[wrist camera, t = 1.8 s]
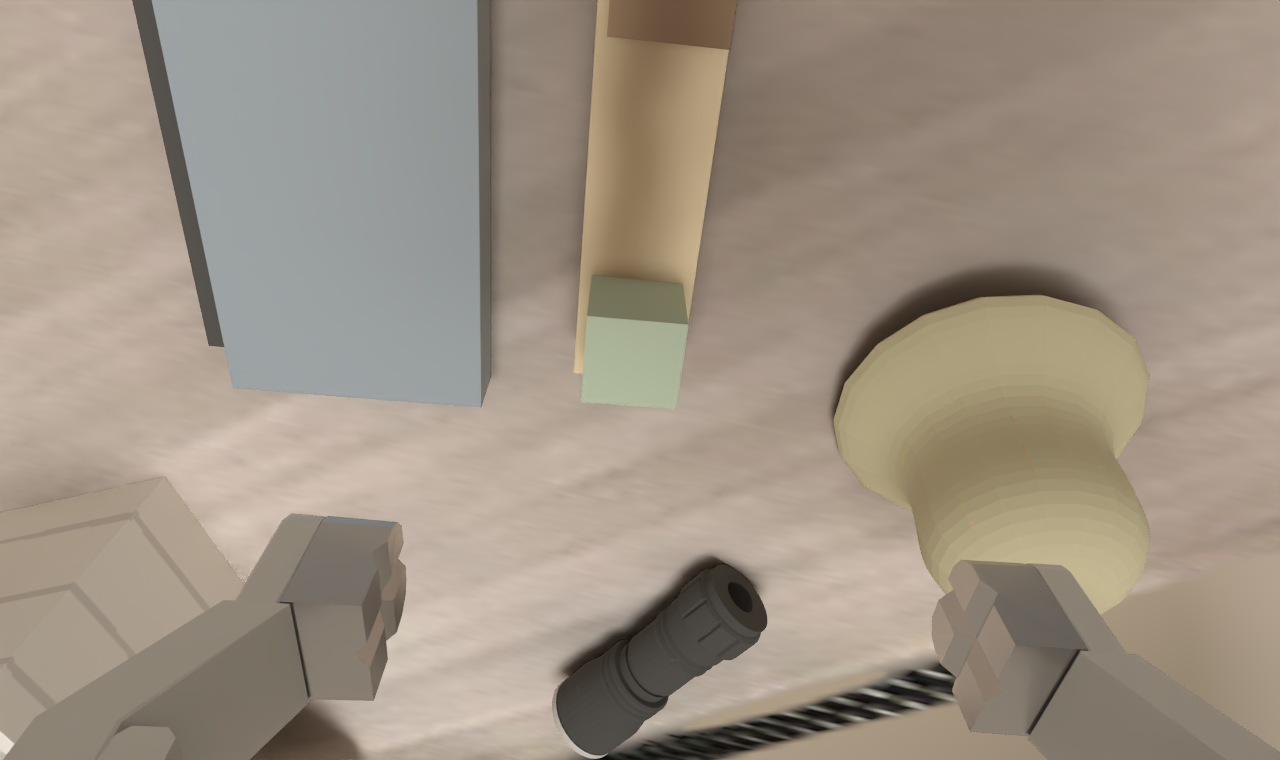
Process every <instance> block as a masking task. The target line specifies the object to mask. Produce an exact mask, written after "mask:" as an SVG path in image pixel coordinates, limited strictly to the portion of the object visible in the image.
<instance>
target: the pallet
mask: <svg viewBox="0 0 1280 760" xmlns="http://www.w3.org/2000/svg"><path fill="white" fill-rule="evenodd" d="M609 1H610V0H598V3H597V19H596V34H595V50H594V65H593V81H592V97H591V112H590V128H589V143H588V159H587V175H586V190H585V206H584V221H583V237H582V253H581V268H580V284H579V300H578V315H577V331H576V346H575V362H574V373H580V374H583V365H584V351H585V337H586V323H587V312H588V303H589V294H590V286H591V277H592V275H593V276H604V277H615V278H626V279H638V280H649V281H660V282H671V283H682V284H683V288H684V295H685V302H686V309H687V316H688V321H689V315H690V308H691V301H692V295H693V288H694V281H695V275H696V268H697V261H698V254H699V248H700V241H701V234H702V228H703V221H704V214H705V208H706V201H707V194H708V187H709V181H710V174H711V167H712V161H713V154H714V147H715V141H716V134H717V127H718V120H719V114H720V107H721V100H722V94H723V87H724V80H725V74H726V67H727V60H728V53H729V50H725V49H716V48H706V47H697V46H688V45H679V44H670V43H660V42H651V41H642V40H633V39H624V38H614V37H607V29H608V15H609Z"/></svg>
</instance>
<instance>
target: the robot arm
mask: <svg viewBox="0 0 1280 760" xmlns="http://www.w3.org/2000/svg"><path fill="white" fill-rule="evenodd" d="M402 546H403V534H402V526H401V525H400V524H399V523H398V522H389V521H378V520H367V519H355V518H344V517H333V516H327V517H323V516H313V515H303V514H293V513H291V514H290V515H289V516H287V517H286V518H285V519H284V520H282V522H281V523H280V525H279V527H278V529H277V530H276V532H275V534H274V535H273V537H272V539H271V540H270V542H269V544H268V545H267V547H266V549H265V550H264V552H263V554H262V556H261V557H260V559H259V561H258V562H257V564H256V566H255V567H254V569H253V571H252V572H251V574H250V576H249V577H248V579H247V581H246V583H245V584H244V586H243V588H242V589H241V591H240V593H239V594H238V596H237V598H236V599H235V601H234V600H223V601H221V602H220V603H218V604H216V605H215V606H213V607H212V608H210V609H208V610H207V611H205V612H203V613H202V614H200V615H199V616H197V617H195V618H194V619H192V620H191V621H189V622H187V623H186V624H184V625H183V626H181V627H179V628H178V629H176V630H174V631H173V632H171V633H170V634H168V635H166V636H165V637H163V638H162V639H160V640H158V641H157V642H155V643H154V644H152V645H150V646H149V647H147V648H146V649H144V650H142V651H141V652H139V653H137V654H136V655H134V656H133V657H131V658H129V659H128V660H126V661H125V662H123V663H121V664H120V665H118V666H117V667H115V668H113V669H112V670H110V671H109V672H107V673H105V674H104V675H102V676H100V677H99V678H97V679H96V680H94V681H92V682H91V683H89V684H88V685H86V686H84V687H83V688H81V689H80V690H78V691H76V692H75V693H73V694H72V695H70V696H68V697H67V698H65V699H63V700H62V701H60V702H59V703H57V704H55V705H54V706H52V707H51V708H49V709H47V710H46V711H44V712H43V713H41V714H39V715H38V716H36V717H35V718H34V719H33V720H32V722H31V723H30V724H29V726H28V727H27V728H26V730H25V731H24V732H23V734H22V735H21V736H20V738H19V739H18V740H17V742H16V743H15V744H14V745H13V747H12V748H11V749H10V751H9V752H8V753H7V755H6V756H5V757H4V759H3V760H250V759H251V758H252V757H253V756H254V755H255V754H256V753H257V752H258V751H259V750H260V749H261V748H262V747H263V746H264V745H265V744H266V743H268V742H269V741H270V740H271V739H272V738H273V737H274V736H275V735H276V734H277V733H278V732H279V731H280V730H281V729H282V728H283V727H284V726H285V725H286V724H287V723H288V722H289V721H291V720H292V719H293V718H294V717H295V716H296V715H297V714H298V713H299V712H300V711H301V710H302V709H303V708H304V707H305V706H306V705H307V704H308V703H309V700H308V699H324V700H366V701H374V698H375V695H376V692H377V689H378V686H379V683H380V680H381V677H382V674H383V671H384V668H385V666H386V663H387V660H388V658H387V647H386V640H388V639H389V638H390V637H391V636H393V635H394V634H395V633H396V632H397V629H398V626H399V623H400V620H401V616H402V612H403V606H404V601H405V595H406V567H405V565H404V564H403V563H402V562H401V561H400V560H399V559H398V557H399V555H400V552H401V549H402ZM948 580H949V582H950V584H951V586H952V588H953V590H952V591H951V592H949V593H948V594H946V595H945V596H944V597H942V598H941V599H939V600H938V603H937V606H936V608H935V611H934V614H933V616H932V638H933V643H934V648H935V651H936V653H937V656H938V658H939V661H940V663H941V664H942V665H943V666H944V667H945V668H946V669H947V670H948V671H950V672H951V673H952V674H953V675H954V676H955V677H956V681H955V684H954V687H953V689H952V691H953V694H954V696H955V698H956V701H957V703H958V705H959V707H960V709H961V712H962V714H963V717H964V719H965V721H966V724H967V726H968V728H969V730H970V732H980V733H993V734H1005V735H1019V736H1029V738H1028V740H1029V741H1030V742H1031V743H1032V744H1033V745H1034V746H1035V747H1036V748H1037V749H1038V750H1039V751H1040V752H1041V753H1042V754H1043V755H1044V756H1045V757H1046V758H1047V760H1280V752H1279V751H1278V750H1276V749H1275V748H1273V747H1272V746H1270V745H1269V744H1267V743H1266V742H1264V741H1263V740H1262V739H1260V738H1259V737H1257V736H1256V735H1254V734H1253V733H1251V732H1250V731H1248V730H1247V729H1246V728H1244V727H1243V726H1241V725H1240V724H1238V723H1237V722H1235V721H1234V720H1232V719H1231V718H1230V717H1228V716H1227V715H1225V714H1224V713H1222V712H1221V711H1219V710H1218V709H1216V708H1215V707H1214V706H1212V705H1211V704H1209V703H1208V702H1206V701H1205V700H1203V699H1202V698H1200V697H1199V696H1197V695H1196V694H1195V693H1193V692H1192V691H1190V690H1189V689H1187V688H1186V687H1184V686H1183V685H1181V684H1180V683H1178V682H1177V681H1175V680H1174V679H1172V678H1171V677H1170V676H1168V675H1167V674H1165V673H1164V672H1163V671H1161V670H1160V669H1158V668H1157V667H1155V666H1153V665H1152V664H1151V663H1149V662H1148V661H1146V660H1145V659H1144V658H1142V657H1141V656H1139V655H1137V654H1127V653H1126V651H1125V650H1124V649H1123V647H1122V646H1121V644H1120V643H1119V641H1118V640H1117V638H1116V637H1115V635H1114V634H1113V633H1112V631H1111V630H1110V629H1109V627H1108V626H1107V624H1106V623H1105V621H1104V620H1103V618H1102V617H1101V615H1100V614H1099V612H1098V611H1097V610H1096V608H1095V607H1094V605H1093V604H1092V602H1091V601H1090V600H1089V598H1088V597H1087V595H1086V594H1085V592H1084V591H1083V589H1082V588H1081V587H1080V585H1079V584H1078V582H1077V581H1076V579H1075V578H1074V577H1073V575H1072V574H1071V572H1070V571H1069V570H1067V569H1066V568H1064V567H1063V566H1062V565H1052V564H1033V563H1027V564H1023V563H1009V562H992V561H974V560H960V561H959V562H958V563H957V564H955V565H954V566H953V568H952V571H951V573H950V575H949V577H948Z"/></svg>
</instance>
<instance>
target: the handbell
mask: <svg viewBox="0 0 1280 760" xmlns="http://www.w3.org/2000/svg"><path fill="white" fill-rule="evenodd" d="M1149 377H1150V375H1149V372H1148V370H1147V367H1146V365H1145V363H1144V360H1143V358H1142V355H1141V353H1140V350H1139V348H1138V346H1137V343H1136V341H1135V338H1134V337H1132V336H1131V335H1130V334H1128V333H1127V332H1126V331H1125V330H1123V329H1122V328H1121V327H1119V326H1118V325H1117V324H1115V323H1114V322H1113V321H1111V320H1110V319H1109V318H1108V317H1106V316H1105V315H1104V314H1102V313H1101V312H1100V311H1098V310H1097V309H1093V308H1089V307H1085V306H1082V305H1078V304H1074V303H1070V302H1067V301H1063V300H1059V299H1055V298H1052V297H1048V296H1044V295H1020V296H995V297H979V298H975V299H972V300H969V301H966V302H963V303H959V304H956V305H953V306H950V307H947V308H943V309H940V310H937V311H934V312H930V313H927V314H924V315H922V316H921V317H919V318H917V319H916V320H914V321H913V322H911V323H910V324H908V325H906V326H905V327H903V328H902V329H900V330H898V331H897V332H895V333H894V334H892V335H891V336H889V337H887V338H886V339H884V340H883V341H881V342H880V343H878V344H877V345H876V346H875V348H874V349H873V350H872V351H871V352H870V354H869V355H868V356H867V357H866V358H865V359H864V361H863V362H862V363H861V364H860V365H859V367H858V368H857V369H856V370H855V371H854V373H853V374H852V375H851V376H850V377H849V379H848V380H847V381H846V382H845V384H844V387H843V391H842V394H841V397H840V400H839V404H838V407H837V410H836V413H835V416H834V420H833V422H834V427H835V433H836V438H837V444H838V449H839V455H840V456H841V457H842V459H843V460H844V461H845V462H846V464H847V465H848V466H849V468H850V469H851V470H852V471H853V473H854V474H855V475H856V477H857V478H858V479H859V480H860V482H861V483H862V484H863V485H864V486H865V487H866V488H868V489H870V490H872V491H873V492H875V493H877V494H879V495H880V496H882V497H884V498H885V499H887V500H889V501H891V502H892V503H894V504H896V505H897V506H899V507H901V508H904V509H907V510H910V511H913V514H914V519H915V523H916V529H917V535H918V541H919V546H920V550H921V554H922V557H923V560H924V563H925V565H926V567H927V569H928V571H929V572H930V574H931V576H932V577H933V578H934V580H935V581H936V582H937V584H938V585H939V586H940V588H941V589H942V590H943V591H944V593H945V594H948V593H949V592H951V591H952V590H953V588H952V586H951V584H950V582H949V580H948V577H949V575H950V573H951V571H952V568H953V566H954V565H955V564H957V563H958V562H959V561H960V560H974V561H992V562H1009V563H1023V564H1027V563H1033V564H1052V565H1062V566H1063V567H1064V568H1066V569H1067V570H1069V571H1070V572H1071V574H1072V575H1073V577H1074V578H1075V579H1076V581H1077V582H1078V584H1079V585H1080V587H1081V588H1082V589H1083V591H1084V592H1085V594H1086V595H1087V597H1088V598H1089V600H1090V601H1091V602H1092V604H1093V605H1094V607H1095V608H1096V610H1097V611H1098V612H1099V614H1100V615H1101V614H1102V613H1104V612H1105V611H1107V610H1109V609H1110V608H1112V607H1113V606H1115V605H1117V604H1118V603H1119V602H1121V601H1122V600H1123V599H1124V598H1125V596H1126V595H1127V594H1128V593H1129V592H1130V590H1131V589H1132V588H1133V587H1134V586H1135V584H1136V583H1137V582H1138V580H1139V579H1140V578H1141V576H1142V574H1143V571H1144V569H1145V564H1146V559H1147V554H1148V549H1149V542H1150V531H1149V524H1148V521H1147V518H1146V515H1145V513H1144V511H1143V508H1142V506H1141V504H1140V502H1139V500H1138V498H1137V496H1136V494H1135V492H1134V490H1133V488H1132V486H1131V484H1130V482H1129V480H1128V478H1127V477H1126V475H1125V473H1124V472H1123V470H1122V468H1121V467H1120V465H1119V464H1118V462H1117V460H1116V459H1117V458H1118V457H1119V455H1120V454H1121V452H1122V451H1123V449H1124V448H1125V446H1126V445H1127V443H1128V442H1129V440H1130V439H1131V437H1132V436H1133V435H1134V433H1135V432H1136V430H1137V429H1138V427H1139V426H1140V424H1141V423H1142V420H1143V414H1144V408H1145V402H1146V396H1147V389H1148V383H1149Z"/></svg>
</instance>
